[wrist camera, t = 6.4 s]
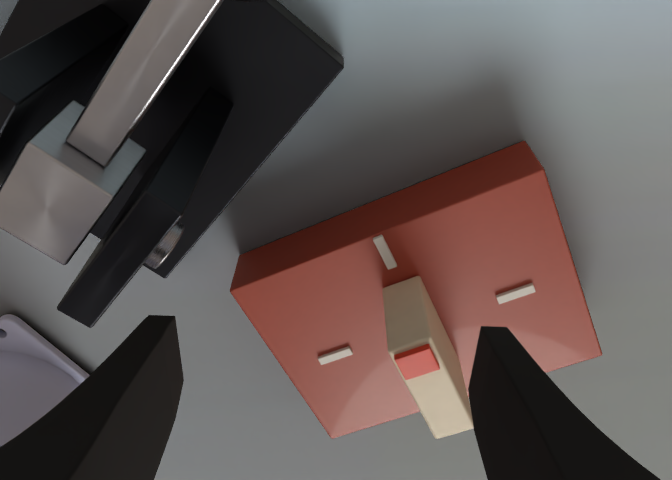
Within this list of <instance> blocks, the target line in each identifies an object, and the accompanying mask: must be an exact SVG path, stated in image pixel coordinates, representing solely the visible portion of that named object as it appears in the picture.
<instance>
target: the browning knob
mask: <svg viewBox="0 0 672 480" xmlns="http://www.w3.org/2000/svg"><path fill="white" fill-rule="evenodd" d="M382 292H383V303H384V314H385V324H386V335H387V346H388V353H389V355H390V356H391V358H392V360H393V362H394V364H395V366H396V367H397V369H398V371H399V373H400V375H401V377H402V378H403V380H404V382H405V384H406V386H407V388H408V389H409V391H410V393H411V395H412V397H413V399H414V400H415V402H416V404H417V406H418V408H419V410H420V411H421V413H422V415H423V417H424V419H425V421H426V422H427V424H428V426H429V428H430V430H431V432H432V433H433V435H434V437H435V438H436V439H439V438H442V437H445V436H449V435H452V434H456V433H459V432H463V431H466V430H470V429H473V428H474V426H473V420H472V413H471V408H470V404H469V399H468V395H467V391H466V387H465V382H464V378H463V374H462V370H461V365H460V361H459V358H458V356H457V354H456V352H455V350H454V348H453V346H452V343H451V341H450V339H449V337H448V335H447V333H446V331H445V329H444V326H443V324H442V322H441V320H440V318H439V316H438V314H437V311H436V309H435V307H434V305H433V303H432V301H431V299H430V297H429V294H428V292H427V290H426V288H425V286H424V284H423V282H422V280H421V277H420V276H416V277H413V278H410V279H407V280H404V281H402V282H399V283H396V284H393V285H390V286H388V287H385V288H383V289H382Z"/></svg>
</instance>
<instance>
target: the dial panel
mask: <svg viewBox="0 0 672 480" xmlns="http://www.w3.org/2000/svg"><path fill="white" fill-rule="evenodd" d="M416 276H420V277H421V280H422V282H423V284H424V286H425V288H426V290H427V292H428V294H429V297H430V299H431V301H432V303H433V305H434V307H435V309H436V311H437V314H438V316H439V318H440V320H441V322H442V324H443V326H444V329H445V331H446V333H447V335H448V337H449V339H450V341H451V343H452V346H453V348H454V350H455V352H456V354H457V356H458V358H459V361H460V365H461V370H462V374H463V378H464V382H465V387H466V391H467V395H468V397H469V392H468V387H469V382H470V377H471V373H472V368H473V363H474V358H475V353H476V348H477V343H478V338H479V333H480V328H481V326H495V327H507V328H508V329H509V330H510V331H511V332H512V333H513V335H514V336H515V337H516V338H517V340H518V341H519V342H520V343H521V344H522V346H523V347H524V348H525V349H526V351H527V352H528V353H529V354H530V355H531V357H532V358H533V359H534V360H535V361H536V363H537V364H538V365H539V366H540V367H541V369H542V370H543V371H544V372H545V373H546V372H550V371H553V370H556V369H559V368H563V367H566V366H569V365H572V364H576V363H579V362H582V361H585V360H588V359H592V358H595V357H598V356H601V355H602V351H601V348H600V345H599V342H598V338H597V335H596V332H595V329H594V326H593V323H592V319H591V316H590V313H589V310H588V307H587V304H586V300H585V297H584V294H583V291H582V288H581V284H580V281H579V278H578V275H577V272H576V269H575V265H574V262H573V259H572V256H571V253H570V249H569V246H568V243H567V240H566V237H565V234H564V230H563V227H562V224H561V221H560V218H559V215H558V211H557V208H556V205H555V202H554V199H553V195H552V192H551V189H550V186H549V183H548V180H547V176H546V173H545V170H544V168H543V167H542V165H541V164H540V162H539V161H538V159H537V158H536V156H535V155H534V153H533V152H532V150H531V149H530V147H529V146H528V144H527V143H526V141H522V142H519V143H517V144H514V145H512V146H509V147H507V148H504V149H502V150H500V151H497V152H495V153H492V154H490V155H487V156H485V157H482V158H480V159H477V160H475V161H472V162H470V163H467V164H465V165H462V166H460V167H457V168H455V169H452V170H450V171H447V172H445V173H442V174H440V175H437V176H435V177H432V178H430V179H428V180H425V181H423V182H420V183H418V184H415V185H413V186H410V187H408V188H405V189H403V190H400V191H398V192H395V193H393V194H390V195H388V196H385V197H383V198H380V199H378V200H375V201H373V202H370V203H368V204H365V205H363V206H360V207H358V208H355V209H353V210H351V211H348V212H346V213H343V214H341V215H338V216H336V217H333V218H331V219H328V220H326V221H323V222H321V223H318V224H316V225H313V226H311V227H308V228H306V229H303V230H301V231H298V232H296V233H293V234H291V235H288V236H286V237H283V238H281V239H278V240H276V241H274V242H271V243H269V244H266V245H264V246H261V247H259V248H256V249H254V250H251V251H249V252H246V253H244V254H241V255H240V256H239V258H238V262H237V266H236V269H235V273H234V277H233V280H232V284H231V288H230V292H231V294H232V295H233V297H234V298H235V299H236V301H237V302H238V304H239V305H240V307H241V308H242V310H243V311H244V313H245V314H246V315H247V317H248V318H249V320H250V321H251V323H252V324H253V326H254V327H255V328H256V330H257V331H258V333H259V334H260V336H261V337H262V339H263V340H264V342H265V343H266V344H267V346H268V347H269V349H270V350H271V352H272V353H273V355H274V356H275V358H276V359H277V360H278V362H279V363H280V365H281V366H282V368H283V369H284V371H285V372H286V373H287V375H288V376H289V378H290V379H291V381H292V382H293V384H294V385H295V387H296V388H297V389H298V391H299V392H300V394H301V395H302V397H303V398H304V400H305V401H306V402H307V404H308V405H309V407H310V408H311V410H312V411H313V413H314V414H315V416H316V417H317V418H318V420H319V421H320V423H321V424H322V426H323V427H324V429H325V430H326V431H327V433H328V434H329V436H330V437H331V438H332V439H333V438H336V437H339V436H343V435H346V434H349V433H352V432H356V431H359V430H362V429H365V428H369V427H372V426H375V425H378V424H381V423H385V422H388V421H391V420H394V419H398V418H401V417H404V416H407V415H411V414H414V413H417V412H420V410H419V408H418V406H417V404H416V402H415V400H414V399H413V397H412V395H411V393H410V391H409V389H408V388H407V386H406V384H405V382H404V380H403V378H402V377H401V375H400V373H399V371H398V369H397V367H396V366H395V364H394V362H393V360H392V358H391V356H390V355H389V353H388V346H387V335H386V324H385V314H384V303H383V292H382V289H383V288H385V287H388V286H390V285H393V284H396V283H399V282H402V281H404V280H407V279H410V278H413V277H416Z"/></svg>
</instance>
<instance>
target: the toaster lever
mask: <svg viewBox="0 0 672 480" xmlns="http://www.w3.org/2000/svg"><path fill="white" fill-rule="evenodd" d="M223 1H224V0H150V2H149V4H148V5H147V7H146V9H145V10H144V12H143V13H142V15H141V17H140V18H139V20H138V22H137V23H136V25H135V26H134V28H133V30H132V31H131V33H130V35H129V36H128V38H127V39H126V41H125V43H124V44H123V46H122V48H121V49H120V51H119V52H118V54H117V56H116V57H115V59H114V61H113V62H112V64H111V65H110V67H109V69H108V70H107V72H106V74H105V75H104V77H103V78H102V80H101V82H100V83H99V85H98V87H97V88H96V90H95V91H94V93H93V95H92V96H91V98H90V100H89V101H88V103H87V104H86V106H85V107H84V106H82V105H81V104H79V103H78V102H76V101H75V100H71V101H70V102H69V103H68V104H67V105H65V106H64V107H63V108H62V109H61V110H60V111H59V112H58V113H57V114H56V115H55V116H54V117H52V118H51V119H50V120H49V121H48V122H47V123H46V124H45V125H44V126H43V127H42V128H41V129H40V130H38V131H37V132H36V133H35V134H34V135H33V136H32V137H31V138H30V139H29V140H28V141H27V142H26V143H25V145H24V147H23V148H22V150H21V152H20V154H19V155H18V157H17V159H16V161H15V162H14V164H13V166H12V168H11V169H10V171H9V173H8V175H7V177H6V178H5V180H4V182H3V184H2V185H1V187H0V228H1V229H3V230H5V231H6V232H8V233H10V234H12V235H13V236H15V237H17V238H18V239H20V240H22V241H23V242H25V243H27V244H29V245H30V246H32V247H34V248H35V249H37V250H39V251H40V252H42V253H44V254H46V255H47V256H49V257H51V258H52V259H54V260H56V261H57V262H59V263H61V264H63V265H66V264H67V263H68V262H69V261H70V259H71V258H72V256H73V255H74V254H75V252H76V251H77V250H78V248H79V247H80V245H81V244H82V243H83V241H84V240H85V239H86V237H87V236H88V234H89V233H90V232H91V230H92V229H93V228H94V226H95V225H96V223H97V222H98V221H99V219H100V218H101V217H102V215H103V214H104V212H105V211H106V210H107V208H108V207H109V206H110V204H111V203H112V201H113V200H114V199H115V197H116V196H117V194H118V193H119V192H120V190H121V189H122V187H123V186H124V184H125V183H126V182H127V180H128V179H129V177H130V176H131V175H132V173H133V172H134V170H135V169H136V167H137V166H138V165H139V163H140V162H141V160H142V159H143V157H144V156H145V155H146V153H147V150H146V149H144V148H143V147H142V146H140V145H139V144H137V143H136V142H134V141H133V140H131V139H130V138H129V137H130V135H131V134H132V133H133V131H134V130H135V128H136V127H137V125H138V124H139V122H140V121H141V120H142V118H143V117H144V115H145V114H146V112H147V111H148V109H149V108H150V107H151V105H152V104H153V102H154V101H155V99H156V98H157V96H158V95H159V93H160V92H161V91H162V89H163V88H164V86H165V85H166V83H167V82H168V80H169V79H170V78H171V76H172V75H173V73H174V72H175V70H176V69H177V67H178V66H179V65H180V63H181V62H182V60H183V59H184V57H185V56H186V54H187V53H188V52H189V50H190V49H191V47H192V46H193V44H194V43H195V41H196V40H197V39H198V37H199V36H200V34H201V33H202V31H203V30H204V28H205V27H206V26H207V24H208V23H209V21H210V20H211V18H212V17H213V15H214V14H215V13H216V11H217V10H218V8H219V7H220V5H221V4H222V2H223ZM234 1H240V2H262V1H268V0H234Z"/></svg>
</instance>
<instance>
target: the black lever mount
mask: <svg viewBox="0 0 672 480" xmlns="http://www.w3.org/2000/svg"><path fill="white" fill-rule="evenodd" d="M149 2H150V0H19V1H18V2H17V4H16V6H15V8H14V10H13V12H12V14H11V16H10V18H9V20H8V21H7V23H6V25H5V27H4V29H3V31H2V33H1V35H0V185H1V184H3V182H4V180H5V178H6V177H7V175H8V173H9V171H10V169H11V168H12V166H13V164H14V162H15V161H16V159H17V157H18V155H19V154H20V152H21V150H22V148H23V147H24V145H25V143H26V142H27V141H28V140H29V139H30V138H31V137H32V136H33V135H34V134H35V133H36V132H37V131H38V130H40V129H41V128H42V127H43V126H44V125H45V124H46V123H47V122H48V121H49V120H50V119H51V118H52V117H54V116H55V115H56V114H57V113H58V112H59V111H60V110H61V109H62V108H63V107H64V106H65V105H67V104H68V103H69V102H70V101H71V100H75V101H76V102H78V103H79V104H81V105H82V106H84V107H85V106H86V104H87V103H88V101H89V100H90V98H91V96H92V95H93V93H94V91H95V90H96V88H97V87H98V85H99V83H100V82H101V80H102V78H103V77H104V75H105V74H106V72H107V70H108V69H109V67H110V65H111V64H112V62H113V61H114V59H115V57H116V56H117V54H118V52H119V51H120V49H121V48H122V46H123V44H124V43H125V41H126V39H127V38H128V36H129V35H130V33H131V31H132V30H133V28H134V26H135V25H136V23H137V22H138V20H139V18H140V17H141V15H142V13H143V12H144V10H145V9H146V7H147V5H148V4H149ZM343 68H344V58H343V56H341V55H340V54H339V53H338V52H337V51H335V50H334V49H333V48H332V47H331V46H330V45H328V44H327V43H326V42H325V41H324V40H323V39H321V38H320V37H319V36H318V35H317V34H316V33H314V32H313V31H312V30H311V29H310V28H309V27H307V26H306V25H305V24H304V23H303V22H302V21H300V20H299V19H298V18H297V17H296V16H295V15H293V14H292V13H291V12H290V11H289V10H287V9H286V8H285V7H284V6H283V5H282V4H280V3H279V2H278V1H277V0H268V1H262V2H240V1H234V0H224V1H223V2H222V4H221V5H220V7H219V8H218V10H217V11H216V13H215V14H214V15H213V17H212V18H211V20H210V21H209V23H208V24H207V26H206V27H205V28H204V30H203V31H202V33H201V34H200V36H199V37H198V39H197V40H196V41H195V43H194V44H193V46H192V47H191V49H190V50H189V52H188V53H187V54H186V56H185V57H184V59H183V60H182V62H181V63H180V65H179V66H178V67H177V69H176V70H175V72H174V73H173V75H172V76H171V78H170V79H169V80H168V82H167V83H166V85H165V86H164V88H163V89H162V91H161V92H160V93H159V95H158V96H157V98H156V99H155V101H154V102H153V104H152V105H151V107H150V108H149V109H148V111H147V112H146V114H145V115H144V117H143V118H142V120H141V121H140V122H139V124H138V125H137V127H136V128H135V130H134V131H133V133H132V134H131V135H130V137H129V138H130V139H131V140H133V141H134V142H136V143H137V144H139V145H140V146H142V147H143V148H144V149H146V150H147V153H146V155H145V156H144V157H143V159H142V160H141V162H140V163H139V165H138V166H137V167H136V169H135V170H134V172H133V173H132V175H131V176H130V177H129V179H128V180H127V182H126V183H125V184H124V186H123V187H122V189H121V190H120V192H119V193H118V194H117V196H116V197H115V199H114V200H113V201H112V203H111V204H110V206H109V207H108V208H107V210H106V211H105V212H104V214H103V215H102V217H101V218H100V219H99V221H98V222H97V223H96V225H95V226H94V228H93V229H92V230H91V232H90V233H92V234H93V235H95V236H97V237H98V238H100V239H101V241H100V242H99V244H98V245H97V247H96V248H95V250H94V251H93V253H92V254H91V256H90V257H89V259H88V261H87V262H86V264H85V265H84V267H83V268H82V270H81V271H80V273H79V274H78V276H77V277H76V279H75V280H74V282H73V283H72V285H71V286H70V288H69V289H68V291H67V292H66V294H65V295H64V297H63V298H62V300H61V302H60V303H59V305H58V306H57V309H58V310H59V311H61V312H62V313H64V314H66V315H68V316H70V317H71V318H73V319H75V320H77V321H78V322H80V323H82V324H84V325H86V326H87V327H90V328H91V327H93V326H94V325H95V323H96V322H97V321H98V320H99V318H100V317H101V316H102V315H103V313H104V312H105V311H106V310H107V309H108V307H109V306H110V305H111V304H112V302H113V301H114V300H115V299H116V297H117V296H118V295H119V294H120V292H121V291H122V290H123V289H124V287H125V286H126V285H127V284H128V283H129V281H130V280H131V279H132V278H133V276H134V275H135V274H136V273H137V271H138V270H139V269H140V268H141V266H142V265H144V266H145V267H147V268H148V269H150V270H152V271H153V272H155V273H157V274H158V275H160V276H161V277H163V278H167V277H168V275H169V274H170V273H171V272H172V271H173V269H174V268H175V267H176V266H177V265H178V263H179V262H180V261H181V260H182V259H183V258H184V256H185V255H186V254H187V253H188V252H189V250H190V249H191V248H192V247H193V246H194V245H195V243H196V242H197V241H198V240H199V239H200V237H201V236H202V235H203V234H204V233H205V232H206V230H207V229H208V228H209V227H210V226H211V224H212V223H213V222H214V221H215V220H216V218H217V217H218V216H219V215H220V214H221V213H222V211H223V210H224V209H225V208H226V207H227V205H228V204H229V203H230V202H231V201H232V200H233V198H234V197H235V196H236V195H237V194H238V192H239V191H240V190H241V189H242V188H243V187H244V185H245V184H246V183H247V182H248V181H249V179H250V178H251V177H252V176H253V175H254V173H255V172H256V171H257V170H258V169H259V168H260V166H261V165H262V164H263V163H264V162H265V160H266V159H267V158H268V157H269V156H270V155H271V153H272V152H273V151H274V150H275V149H276V147H277V146H278V145H279V144H280V143H281V142H282V140H283V139H284V138H285V137H286V136H287V134H288V133H289V132H290V131H291V130H292V128H293V127H294V126H295V125H296V124H297V123H298V121H299V120H300V119H301V118H302V117H303V115H304V114H305V113H306V112H307V111H308V110H309V108H310V107H311V106H312V105H313V104H314V102H315V101H316V100H317V99H318V98H319V97H320V95H321V94H322V93H323V92H324V91H325V89H326V88H327V87H328V86H329V85H330V84H331V82H332V81H333V80H334V79H335V78H336V76H337V75H338V74H339V73H340V72H341V70H342V69H343Z"/></svg>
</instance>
